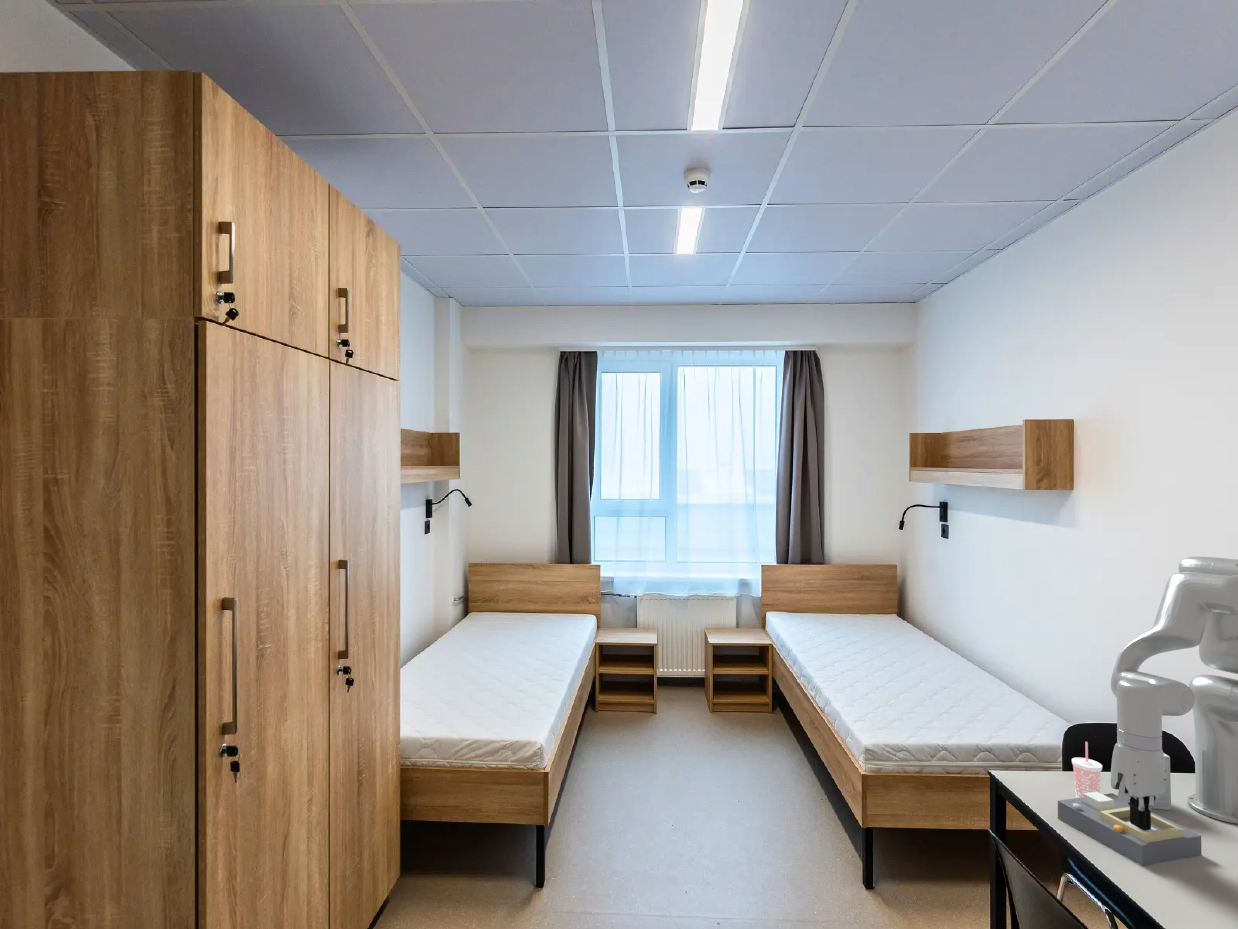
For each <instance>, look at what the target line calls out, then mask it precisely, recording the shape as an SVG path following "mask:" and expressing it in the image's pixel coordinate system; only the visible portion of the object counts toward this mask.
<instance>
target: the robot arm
mask: <svg viewBox="0 0 1238 929" xmlns="http://www.w3.org/2000/svg"><path fill="white" fill-rule="evenodd" d="M1164 588H1165V589H1164V591H1163V595H1162V597H1161V599H1160V600H1161V601H1160V604H1159V606H1158V610H1157V614H1156V615H1155V616H1156V617H1155V619H1154V623H1153V626H1152V627H1151V628H1150V629H1149V630H1147V631H1145V632H1143V633H1142V634H1139V635H1138V636H1136V637H1135V638H1133V639H1132V640H1130V642H1128V643H1127V644H1126V645H1125V646H1124V647H1123V648H1122V649H1121V650H1120V652H1119V654H1118V656H1117V658H1116V662H1115V664H1114V666H1113V670H1112V673H1111V680H1110V689H1111V692H1112V694H1113V695H1114V697H1115V698H1116V726H1117V727H1116V733H1117V736H1116V740H1117V741H1116V743H1115V744H1114V747H1113V751H1112V755H1111V756H1112V758H1111V764H1110V765H1111V766H1110V767H1111V768H1110V786H1111V788H1112V789H1114V790H1118V792H1117V796H1118V799H1120V800H1122V801H1124V802H1127V804H1128V805H1129V806H1130V823H1131V824H1133V825H1135V826H1137V827H1139V828H1141V829H1143V830H1147V829H1148V830H1149V829H1151V812H1152V810H1154V809H1153V803H1154V801H1155V799H1157V798H1159V797H1161V796H1162V793H1164V792H1165V791H1166V767H1165V759H1164V754H1165V753H1164V750H1163V721H1162V720H1163V717H1164V716H1167V717H1168V716H1169V717H1180V716H1183V715H1186V714H1188V713H1190V711H1192V715H1193V724H1194V725H1193V726H1194V762H1195V764H1194V768H1195V770H1194V771H1195V772H1194V773H1195V774H1194V775H1195V776H1194V777H1195V780H1194V781H1195V794H1190V795H1188V796H1187V801H1186V802H1187V805H1188V806H1189V807H1190V808H1192V809H1193V810H1194V811H1197V812H1198V813H1200V814H1202V815H1205V816H1207V817H1209V818H1212V819H1215V820H1219V821H1222V822H1226V823H1231V824H1234V825H1235V824H1236V825H1238V679H1235V678H1231V677H1226V676H1221V675H1216V674H1215V675H1213V674H1199V675H1196V676H1194V677H1193V678H1192V679H1191V680H1190V682H1189V684H1186V683H1183V682H1181V681H1179V680H1176V679H1172V678H1169V677H1168V678H1167V677H1163V676H1159V675H1155V674H1152V673H1148V672H1143V671H1139V669H1140V667H1141V666H1142V664H1143V663H1144V662H1145V661H1147V660H1148V659H1150V658H1151V657H1153V656H1156V655H1159V654H1163V653H1169V652H1173V651H1180V650H1184V649H1191V648H1192V649H1193V648H1195V647H1197V646H1198V655H1199V659H1200V661H1201V662H1202V664H1204V665H1205V666H1206V667H1208V668H1211V669H1214V670H1218V671H1222V672H1225V673H1230V674H1235V675H1238V559H1234V558H1227V557H1225V558H1224V557H1216V556H1215V557H1214V556H1189V557H1184V558H1183V559H1182V560H1180V562H1179V564H1178V572H1177V573H1174V574H1172V575H1171V576H1170V577H1169V578H1168V579H1167V582H1166V585H1165V587H1164ZM1163 753H1164V754H1163ZM1135 798H1136V799H1135Z"/></svg>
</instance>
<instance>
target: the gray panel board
mask: <svg viewBox="0 0 1238 929" xmlns="http://www.w3.org/2000/svg"><path fill="white" fill-rule="evenodd" d="M1102 794H1103V793H1102ZM1103 795H1105V796H1107V797H1109V798H1111V799H1113V800H1114V809H1112V810H1105V811H1100V812H1099V811H1097V810H1095V809H1093V808H1092V807H1090V806H1088V805H1086V804H1084V803H1083V797H1081V798H1076V797H1074V798H1068V799H1061V800H1060V799H1059V800H1057V819H1058V820H1060V821H1062V822H1064V823H1065V824H1068V825H1069V826H1071V827H1073V828H1075V829H1077V830H1078V831H1080V832H1081V833H1083V834H1086V835H1087V836H1088V837H1090V838H1092V839H1094V840H1096V841H1098V842H1100V843H1101V844H1103V845H1105V846H1107V847H1108V848H1110V849H1112V850H1114V851H1115V852H1116V853H1119V854H1120V855H1122V856H1124V857H1126V858H1128V859H1130V861H1132V862H1133V861H1134V862H1135V863H1137V864H1138V865H1140V866H1146V865H1152V864H1158V863H1165V862H1171V861H1177V860H1181V859H1187V858H1192V857H1199V856H1202V854H1203V853H1202V852H1203V851H1202V835H1201V834H1199V833H1196V832H1195V831H1192V830H1190V829H1188V828H1185V827H1184V826H1182V825H1179V824H1177V823H1175V822H1173V821H1171V820H1169V819H1167V818H1165V817H1162V816H1161V815H1158V814H1157V813H1154V812H1153V811H1151V827H1153V828H1155V829H1157V831H1150V832H1144V831H1142V830H1140V829H1138V828H1136V827H1134V826H1132V825H1130V824H1128V823H1126V822H1130V806H1129V805H1128V804H1127V802H1124V801H1122V800H1120V799H1118V794H1115V793H1112V792H1111V793H1106V794H1105V793H1104V794H1103Z"/></svg>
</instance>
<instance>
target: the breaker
mask: <svg viewBox="0 0 1238 929" xmlns="http://www.w3.org/2000/svg"><path fill="white" fill-rule="evenodd" d="M1083 803H1084V804H1086V805H1088V806H1090V807H1092V808H1093V809H1095V810H1097V811H1099V812H1100V811H1105V810H1112V809H1114V800H1113V799H1111V798H1109V797H1107V796H1105V795H1103V793H1101V792H1100V793H1099V792H1090V793H1083Z"/></svg>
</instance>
